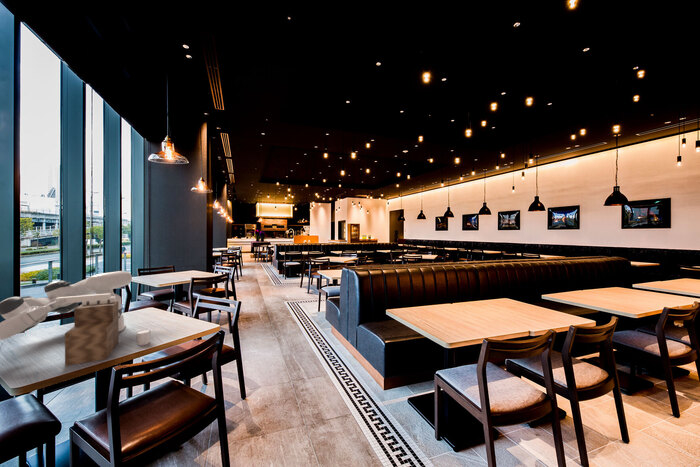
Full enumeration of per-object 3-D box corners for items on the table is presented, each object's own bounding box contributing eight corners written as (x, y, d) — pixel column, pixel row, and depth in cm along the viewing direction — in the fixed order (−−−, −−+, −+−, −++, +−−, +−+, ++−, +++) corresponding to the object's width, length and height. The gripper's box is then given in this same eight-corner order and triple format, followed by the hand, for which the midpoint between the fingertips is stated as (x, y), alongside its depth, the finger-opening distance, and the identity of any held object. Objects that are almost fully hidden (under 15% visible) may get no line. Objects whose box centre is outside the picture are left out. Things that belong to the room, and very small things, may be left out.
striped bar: (81, 305, 157) (81, 300, 157) (84, 304, 159) (83, 298, 159) (114, 302, 163) (114, 297, 163) (115, 301, 166) (115, 296, 166)
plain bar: (55, 304, 148) (55, 298, 148) (58, 302, 150) (58, 297, 150) (109, 299, 158) (109, 294, 158) (111, 298, 161) (111, 293, 161)
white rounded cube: (141, 341, 170) (141, 329, 170) (153, 340, 171) (153, 329, 171) (133, 345, 164) (133, 333, 163) (145, 345, 164) (145, 333, 164)
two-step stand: (65, 365, 139) (64, 315, 139) (82, 347, 160) (82, 303, 160) (106, 359, 147) (106, 311, 146) (118, 342, 168) (118, 300, 168)
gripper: (48, 314, 155) (77, 299, 161) (29, 325, 137) (62, 308, 143) (40, 305, 154) (70, 290, 159) (19, 315, 136) (53, 298, 141)
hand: (66, 299), depth 151 cm, fingers closed on plain bar, 3 cm apart
